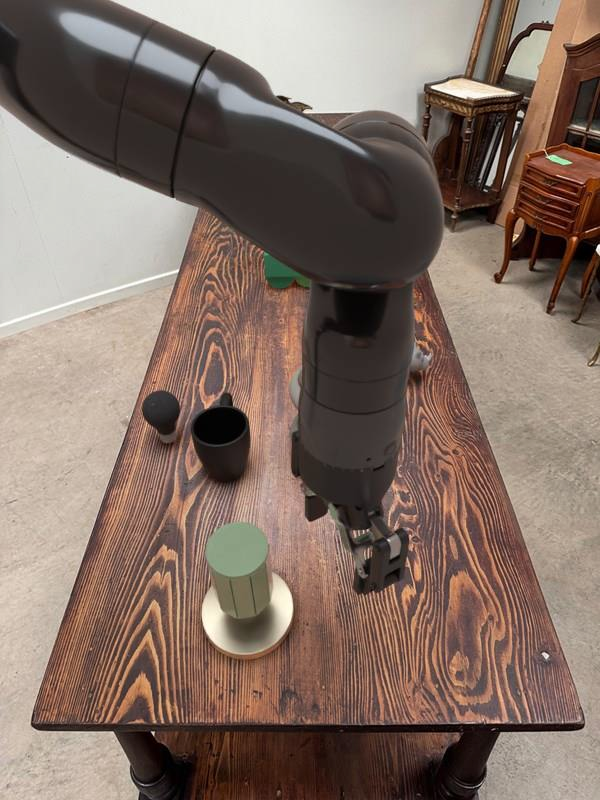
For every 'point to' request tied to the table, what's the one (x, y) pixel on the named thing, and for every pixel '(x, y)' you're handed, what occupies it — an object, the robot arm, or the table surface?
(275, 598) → the towel holder
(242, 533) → the green grooved cylinder
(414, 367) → the chubby cartoon animal
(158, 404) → the light bulb
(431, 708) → the table surface
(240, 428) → the mug
